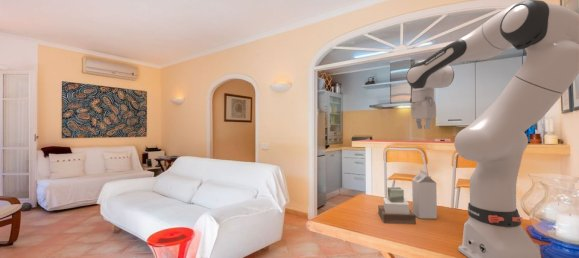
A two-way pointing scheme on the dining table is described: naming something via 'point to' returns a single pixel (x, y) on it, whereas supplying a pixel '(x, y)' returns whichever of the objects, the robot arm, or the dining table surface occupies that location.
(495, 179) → the robot arm
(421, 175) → the milk carton
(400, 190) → the sage cube
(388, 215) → the walnut base slab
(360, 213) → the dining table surface
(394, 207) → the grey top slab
